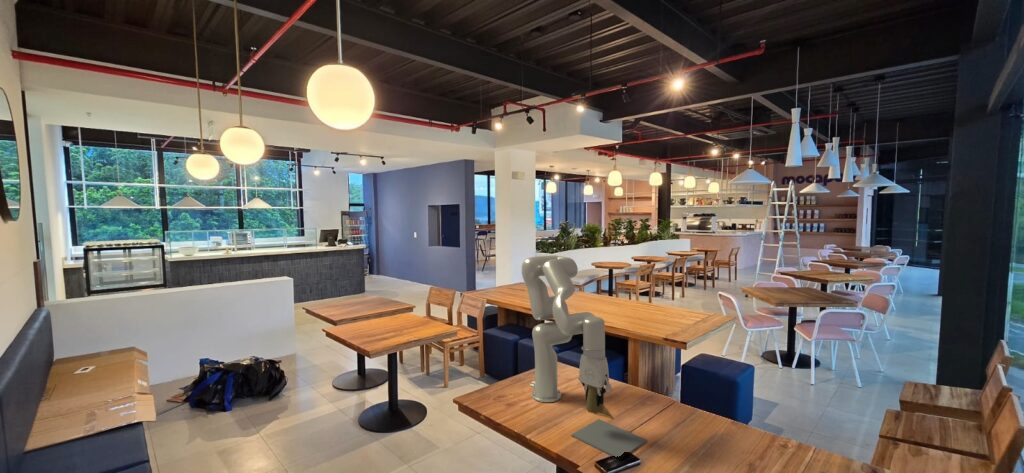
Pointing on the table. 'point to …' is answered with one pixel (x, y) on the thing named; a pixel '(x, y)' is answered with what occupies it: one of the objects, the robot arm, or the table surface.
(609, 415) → the shard
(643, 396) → the table surface
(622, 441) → the slate mat
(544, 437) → the table surface
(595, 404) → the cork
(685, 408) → the table surface
